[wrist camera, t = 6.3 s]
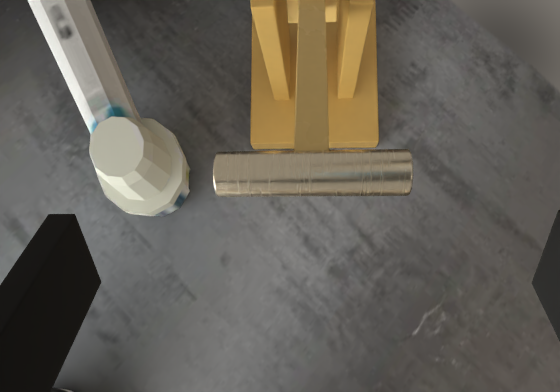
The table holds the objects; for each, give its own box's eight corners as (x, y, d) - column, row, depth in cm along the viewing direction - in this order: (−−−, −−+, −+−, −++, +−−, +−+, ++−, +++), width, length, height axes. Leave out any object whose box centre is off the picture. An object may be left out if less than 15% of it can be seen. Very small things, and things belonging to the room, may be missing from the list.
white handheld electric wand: (27, -149, 32) (174, 165, 25) (81, -70, 38) (210, 198, 31) (-43, -111, 32) (83, 213, 25) (22, -39, 39) (138, 237, 31)
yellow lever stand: (376, 147, 32) (414, 69, 19) (253, 149, 32) (212, 74, 20) (372, 3, 33) (406, -159, 20) (255, 7, 34) (217, -148, 21)
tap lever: (406, 213, 16) (418, 165, 14) (220, 214, 16) (207, 168, 14) (375, -15, 23) (380, -66, 21) (250, -10, 24) (244, -60, 22)
